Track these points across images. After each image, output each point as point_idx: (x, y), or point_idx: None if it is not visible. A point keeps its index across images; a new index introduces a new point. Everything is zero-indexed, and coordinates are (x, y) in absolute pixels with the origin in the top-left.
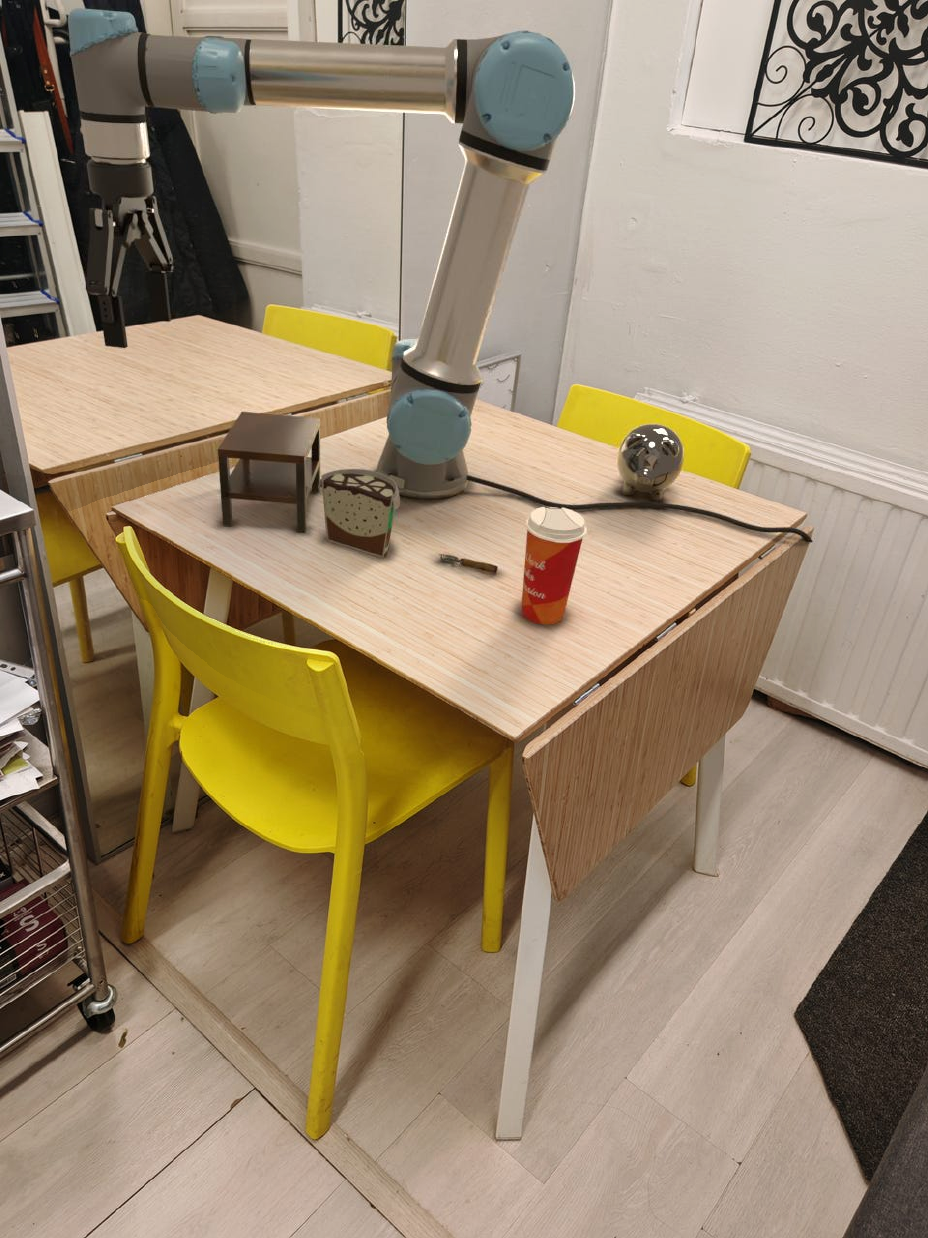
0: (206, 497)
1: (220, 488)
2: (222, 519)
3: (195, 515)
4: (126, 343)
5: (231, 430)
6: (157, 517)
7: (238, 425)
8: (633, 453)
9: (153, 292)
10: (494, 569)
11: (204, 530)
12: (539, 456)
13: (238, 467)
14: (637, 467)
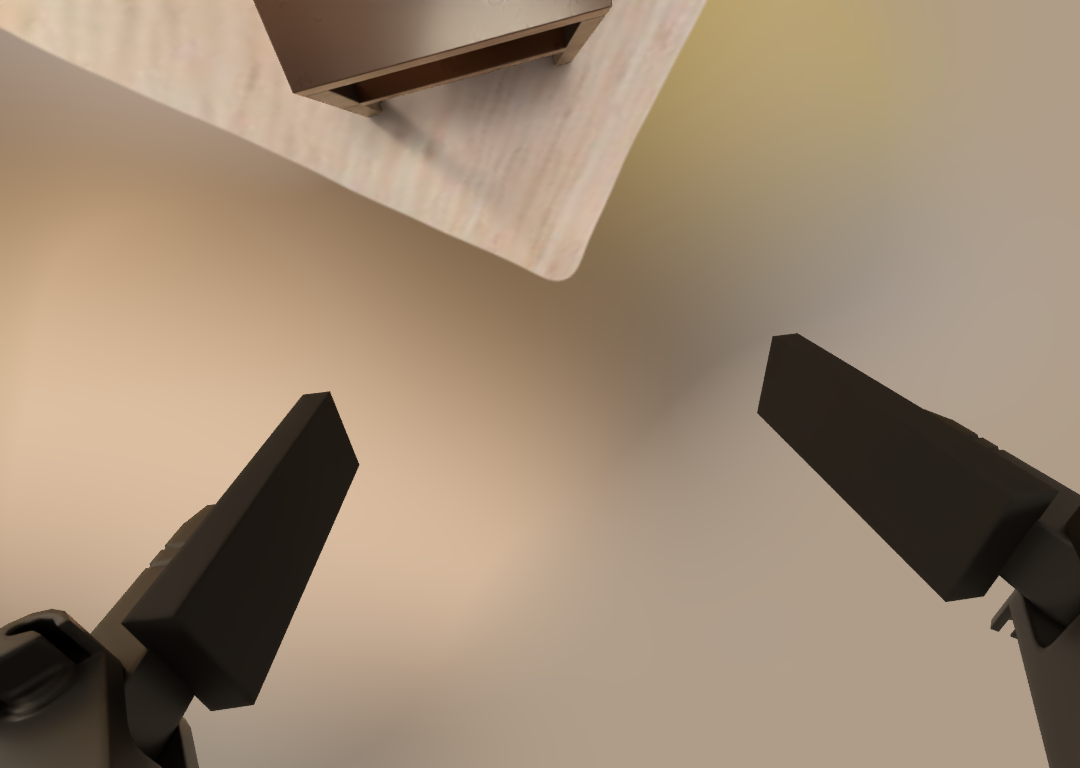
0: (468, 167)
1: (586, 40)
2: (573, 58)
3: (548, 146)
4: (790, 341)
5: (456, 40)
6: (581, 212)
7: (406, 38)
8: None
9: (297, 548)
10: None
11: (600, 93)
12: None
13: (437, 69)
14: None
